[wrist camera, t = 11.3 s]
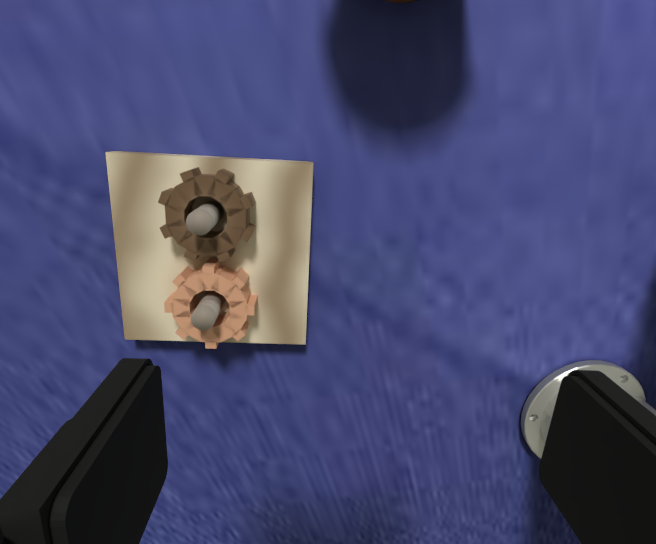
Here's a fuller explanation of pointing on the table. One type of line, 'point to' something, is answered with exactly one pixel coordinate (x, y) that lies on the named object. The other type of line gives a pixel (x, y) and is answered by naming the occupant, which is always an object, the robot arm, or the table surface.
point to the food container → (400, 1)
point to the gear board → (211, 239)
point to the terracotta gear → (221, 282)
